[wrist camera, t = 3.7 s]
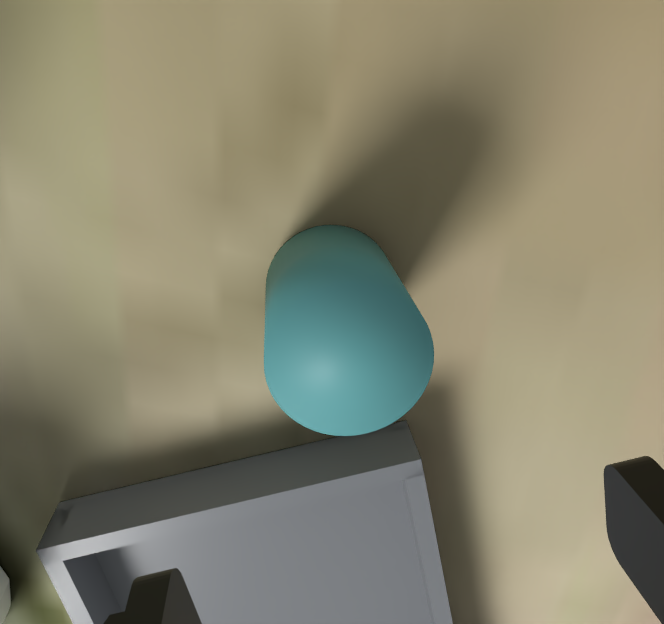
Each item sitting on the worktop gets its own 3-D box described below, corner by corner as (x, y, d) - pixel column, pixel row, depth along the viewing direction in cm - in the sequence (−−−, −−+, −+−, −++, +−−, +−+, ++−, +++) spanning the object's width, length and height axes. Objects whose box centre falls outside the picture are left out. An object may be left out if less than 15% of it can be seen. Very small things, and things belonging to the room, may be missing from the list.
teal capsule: (380, 211, 24) (419, 263, 18) (402, 329, 26) (445, 415, 20) (251, 241, 24) (244, 304, 18) (283, 357, 26) (286, 452, 20)
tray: (406, 420, 28) (421, 459, 25) (454, 665, 34) (471, 719, 31) (58, 502, 28) (35, 550, 25) (169, 734, 34) (159, 793, 31)
